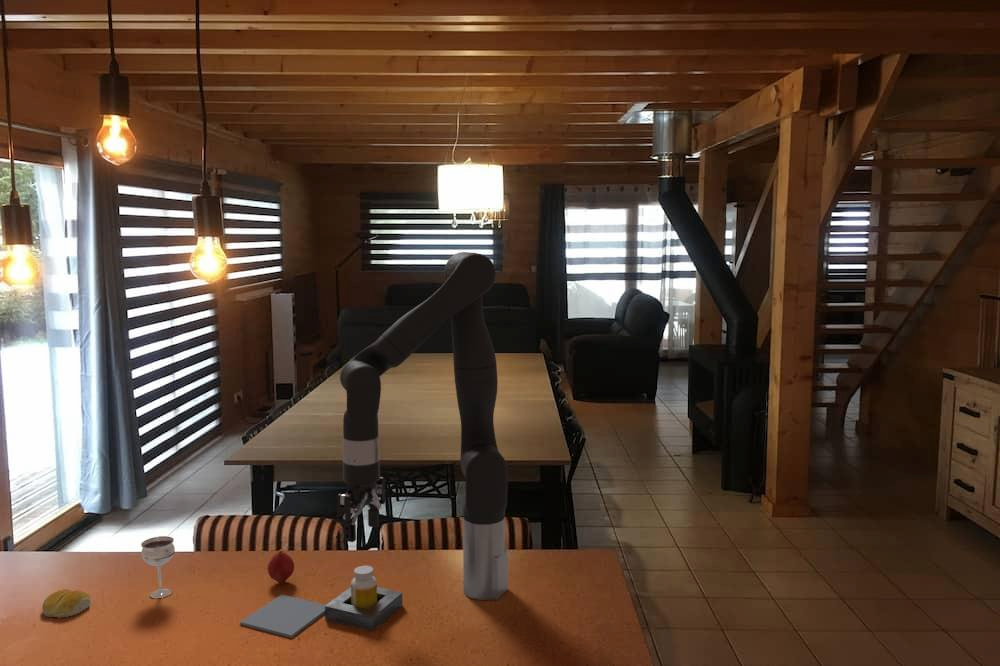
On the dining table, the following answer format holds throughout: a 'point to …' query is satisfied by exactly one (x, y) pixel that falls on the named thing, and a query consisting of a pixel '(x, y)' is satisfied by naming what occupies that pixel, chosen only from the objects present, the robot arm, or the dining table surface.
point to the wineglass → (158, 558)
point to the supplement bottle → (364, 587)
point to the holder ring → (363, 609)
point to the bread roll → (65, 603)
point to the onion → (280, 567)
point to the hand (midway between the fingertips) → (362, 533)
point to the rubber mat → (285, 616)
